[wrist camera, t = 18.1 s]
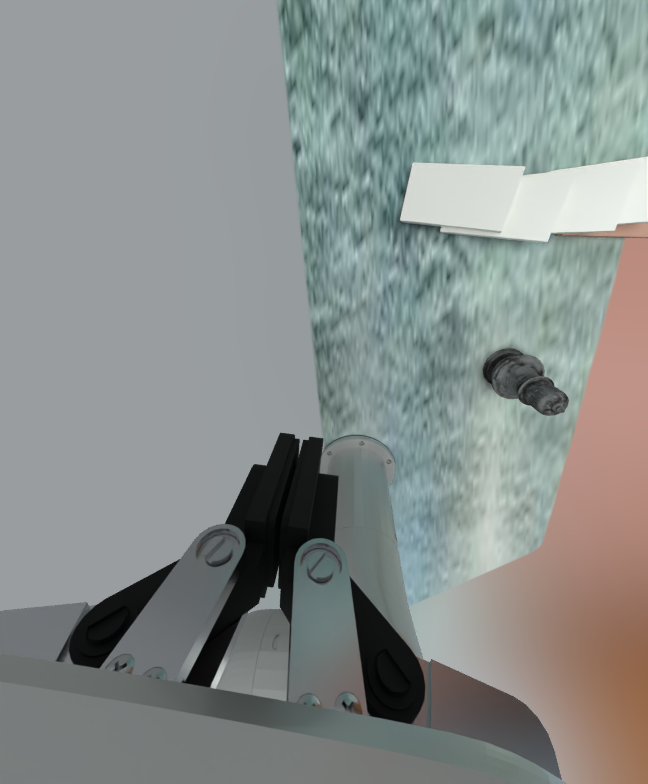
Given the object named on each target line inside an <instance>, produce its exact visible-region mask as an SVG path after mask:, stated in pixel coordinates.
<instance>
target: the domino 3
mask: <svg viewBox="0 0 648 784" xmlns="http://www.w3.org/2000/svg"><path fill="white" fill-rule="evenodd" d="M639 166H640V163H632V164H623V165H614V166H605V167H595V168H586V169H577V170H568V171H558V172H549V173H540V174H531V175H522V176H523V177H558V178H574V180H573V183H572V185H571V187H570V190H569V192H568V195H567V197H566V199H565V202H564V204H563V206H562V209H561V211H560V213H559V216H558V218H557V220H556V223H555V225H554V227H553V230H552V232H551V234H564V233H597V232H611V231H615V229H616V226H617V224H618V221H619V218H620V216H621V213H622V211H623V208H624V205H625V203H626V200H627V197H628V195H629V192H630V190H631V187H632V184H633V182H634V179H635V176H636V174H637V171H638V169H639Z"/></svg>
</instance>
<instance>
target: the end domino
mask: <svg viewBox="0 0 648 784" xmlns="http://www.w3.org/2000/svg"><path fill="white" fill-rule="evenodd" d="M555 236H586V237H625V238H648V223H639V224H625V225H617V226H616V229H615V231H611V232H597V233H564V234H555Z"/></svg>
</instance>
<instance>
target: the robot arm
mask: <svg viewBox="0 0 648 784" xmlns="http://www.w3.org/2000/svg"><path fill="white" fill-rule="evenodd" d="M299 442H300V440H299V439H295V435H294V434H286V433H280V435H279V437H278V440H277V442H276V444H275V447H274V449H273V452H272V454H271V456H270V459H269V461H268V464H267V466H265V465H258V464H254V465H253V467H252V468H251V470H250V473H249V475H248V477H247V479H246V481H245V483H244V485H243V487H242V489H241V491H240V493H239V496H238V498H237V500H236V502H235V504H234V506H233V508H232V510H231V512H230V514H229V516H228V518H227V520H226V523H225V524H220V525H215V526H212V527H210V528H208V529H206V530H205V531H203V532H202V533H200V534H199V536H198V537H197V538H196V539H195V540H194V541H193V543H192V544H191V545H190V547H189V548H188V549H187V551H186V552H185V553H184V555H183V556H182V557H181V559H179V560H178V561H176V562H174V563H172V564H170V565H168V566H166V567H164V568H163V569H161V570H159V571H157V572H155V573H153V574H151V575H150V576H148V577H146V578H144V579H142V580H140V581H138V582H136V583H134V584H133V585H131V586H129V587H127V588H125V589H123V590H121V591H119V592H118V593H116V594H114V595H112V596H110V597H108V598H106V599H105V600H103V601H102V602H100V603H99V604H97V605H94V606H89V605H88V603H87V602H85V603H76V604H65V605H55V606H44V607H34V608H25V609H15V610H4V611H0V784H566V783H565V782H563V781H562V779H561V775H560V771H559V767H558V763H557V759H556V755H555V751H554V748H553V746H552V743H551V741H550V738H549V735H548V733H547V731H546V730H545V728H544V727H543V725H542V724H541V722H540V720H539V719H538V717H537V716H536V715H535V714H534V713H533V712H532V711H531V710H530V709H529V708H528V706H527V705H526V704H524V703H523V702H521V701H520V700H518V699H516V698H515V697H514V696H511V695H509V694H507V693H505V692H503V691H500V690H498V689H496V688H494V687H491V686H489V685H487V684H485V683H483V682H481V681H478V680H476V679H474V678H472V677H470V676H467V675H465V674H463V673H461V672H459V671H456V670H454V669H452V668H450V667H448V666H445V665H443V664H441V663H439V662H436V661H434V660H432V659H431V661H430V662H427V661H425V660H423V657H422V653H421V649H420V646H419V643H418V639H417V636H416V633H415V629H414V625H413V622H412V618H411V614H410V610H409V606H408V602H407V597H406V592H405V587H404V582H403V576H402V570H401V564H400V558H399V552H398V545H397V539H396V532H395V525H394V519H393V512H392V506H391V499H390V492H389V486H390V484H391V483H392V482H393V479H394V477H395V472H396V467H395V462H394V458H393V456H392V454H391V452H390V451H389V450H388V448H387V447H386V446H384V445H383V444H382V443H380V442H378V441H377V440H375V439H372V438H369V437H364V436H348V437H343V438H340V439H338V440H336V441H334V442H332V443H331V444H330V445H328V446H327V447H326V448H325V450H324V451H323V453H322V447H323V438H316V437H309V440H303V443H302V447H301V451H300V454H299ZM298 457H299V458H298ZM278 567H279V579H278V588H279V589H281V594H280V608H281V609H265V610H257V611H254V612H251V613H249V614H247V613H248V611H249V610H250V609H252V608H253V607H254V606H256V605H257V604H258V603H259V600H260V597H261V598H265V594H266V590H267V587H273V586H274V583H275V579H276V574H277V571H278Z"/></svg>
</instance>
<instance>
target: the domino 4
mask: <svg viewBox="0 0 648 784" xmlns="http://www.w3.org/2000/svg"><path fill="white" fill-rule="evenodd" d="M632 163H640V166H639V169H638V171H637V174H636V176H635V179H634V182H633V184H632V187H631V190H630V192H629V195H628V197H627V200H626V203H625V205H624V208H623V211H622V213H621V216H620V218H619V221H618V224H617V225H625V224H639V223H648V157H642V158H635V159H628V160H622V161H615V162H608V163H602V164H595V165H588V166H582V167H575V168H568V169H562V170H555V171H549V172H558V171H568V170H577V169H586V168H595V167H605V166H614V165H623V164H632ZM549 172H548V173H549Z"/></svg>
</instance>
